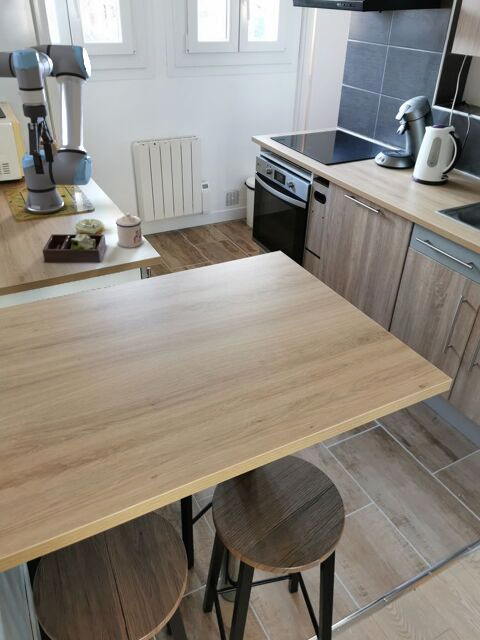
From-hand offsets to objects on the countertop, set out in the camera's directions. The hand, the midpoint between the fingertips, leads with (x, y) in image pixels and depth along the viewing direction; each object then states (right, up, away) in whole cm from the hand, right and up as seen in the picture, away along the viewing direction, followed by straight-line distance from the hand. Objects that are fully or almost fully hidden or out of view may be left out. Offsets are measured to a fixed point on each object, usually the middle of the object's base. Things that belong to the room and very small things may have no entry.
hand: (45, 167), depth 181 cm
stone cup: (-26, +23, +81) cm, 88 cm away
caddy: (+10, -30, +4) cm, 31 cm away
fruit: (+12, -29, +4) cm, 32 cm away
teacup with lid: (+27, -24, +14) cm, 39 cm away
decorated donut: (+10, -19, +21) cm, 30 cm away
